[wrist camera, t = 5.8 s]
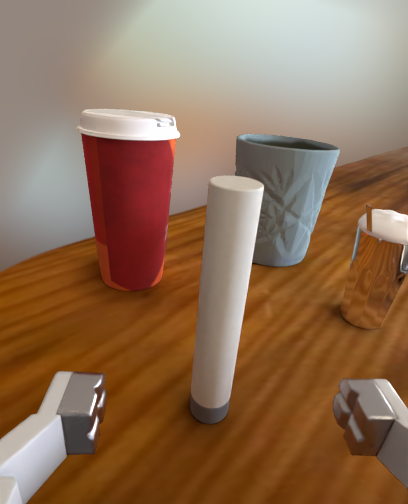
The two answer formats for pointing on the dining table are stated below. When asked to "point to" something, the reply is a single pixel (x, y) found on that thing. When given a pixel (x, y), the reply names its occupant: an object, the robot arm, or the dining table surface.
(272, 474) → the dining table surface
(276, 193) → the grey embossed cup
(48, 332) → the dining table surface
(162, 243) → the paper cup
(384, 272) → the milkshake
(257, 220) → the white cylindrical rod
